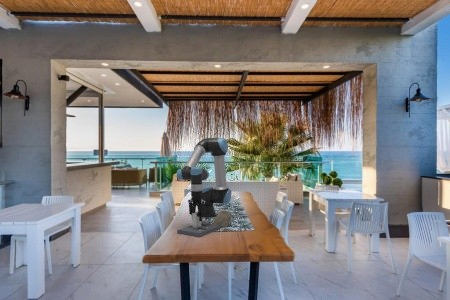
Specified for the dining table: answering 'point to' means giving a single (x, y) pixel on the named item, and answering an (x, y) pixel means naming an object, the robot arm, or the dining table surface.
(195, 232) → the console
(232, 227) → the dining table surface
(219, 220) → the fossil tooth
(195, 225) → the fader
